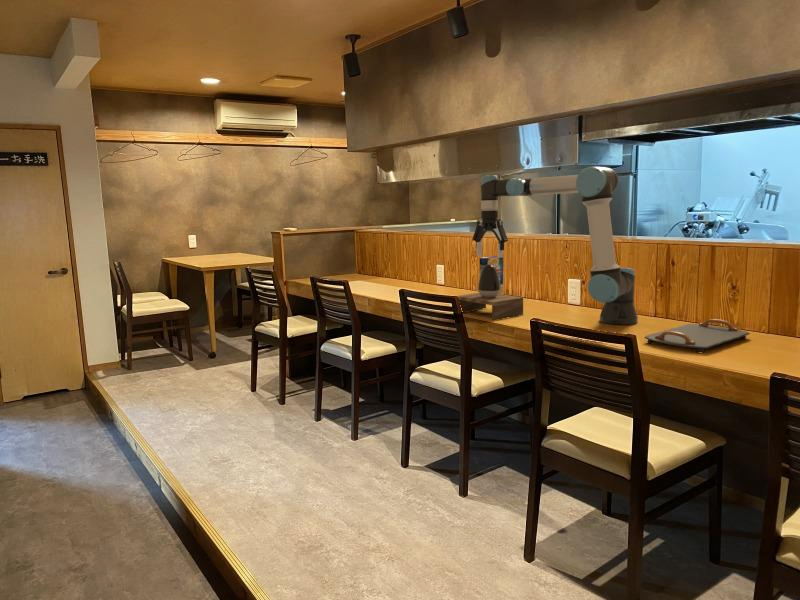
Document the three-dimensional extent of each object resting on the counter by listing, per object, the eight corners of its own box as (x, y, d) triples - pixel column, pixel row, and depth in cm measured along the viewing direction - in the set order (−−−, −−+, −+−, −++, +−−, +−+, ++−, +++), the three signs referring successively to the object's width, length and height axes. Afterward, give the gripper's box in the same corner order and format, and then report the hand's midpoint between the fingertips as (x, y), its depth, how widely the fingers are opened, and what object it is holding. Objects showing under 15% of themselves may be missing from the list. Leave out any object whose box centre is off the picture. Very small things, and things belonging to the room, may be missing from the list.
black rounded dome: (499, 295, 284) (499, 262, 282) (501, 298, 274) (500, 265, 271) (477, 295, 285) (477, 263, 283) (478, 298, 275) (478, 265, 272)
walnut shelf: (523, 314, 276) (523, 297, 274) (495, 320, 265) (495, 302, 264) (483, 307, 296) (483, 291, 295) (455, 312, 286) (455, 296, 285)
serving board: (692, 329, 239) (693, 314, 238) (755, 339, 220) (756, 322, 219) (637, 345, 216) (638, 328, 215) (701, 357, 198) (702, 339, 197)
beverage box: (479, 298, 326) (479, 257, 322) (494, 296, 332) (494, 256, 328) (488, 299, 320) (487, 258, 317) (503, 297, 326) (503, 257, 323)
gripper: (515, 209, 265) (515, 257, 269) (476, 210, 285) (476, 254, 288) (504, 210, 261) (504, 258, 264) (464, 210, 281) (465, 256, 284)
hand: (489, 256), depth 276 cm, fingers open, 13 cm apart
